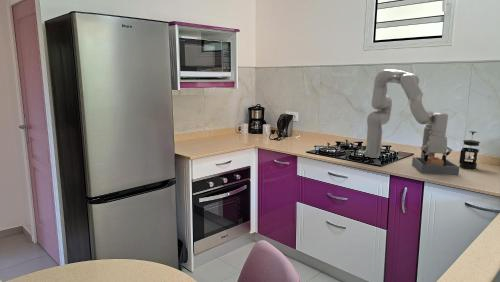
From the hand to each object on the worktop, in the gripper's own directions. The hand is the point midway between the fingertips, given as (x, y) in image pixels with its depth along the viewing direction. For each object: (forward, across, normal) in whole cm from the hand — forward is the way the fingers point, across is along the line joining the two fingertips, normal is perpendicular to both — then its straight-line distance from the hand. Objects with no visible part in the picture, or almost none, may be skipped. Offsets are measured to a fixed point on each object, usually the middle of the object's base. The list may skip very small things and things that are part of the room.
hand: (434, 161), depth 213 cm
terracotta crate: (+4, 0, 0) cm, 4 cm away
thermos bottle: (+5, +3, +24) cm, 25 cm away
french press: (+5, +23, +12) cm, 27 cm away
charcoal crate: (+5, 0, 0) cm, 5 cm away
